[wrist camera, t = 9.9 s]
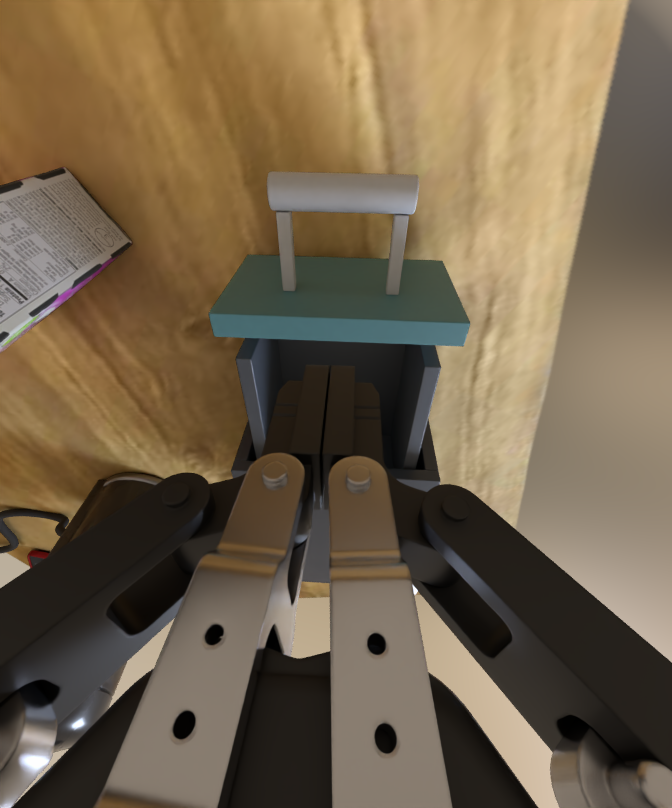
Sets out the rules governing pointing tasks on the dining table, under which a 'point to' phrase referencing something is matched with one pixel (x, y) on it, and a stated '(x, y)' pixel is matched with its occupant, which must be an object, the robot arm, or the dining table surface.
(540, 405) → the dining table surface
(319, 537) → the cabinet
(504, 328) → the dining table surface
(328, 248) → the dining table surface
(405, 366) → the drawer
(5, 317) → the candy bar box
